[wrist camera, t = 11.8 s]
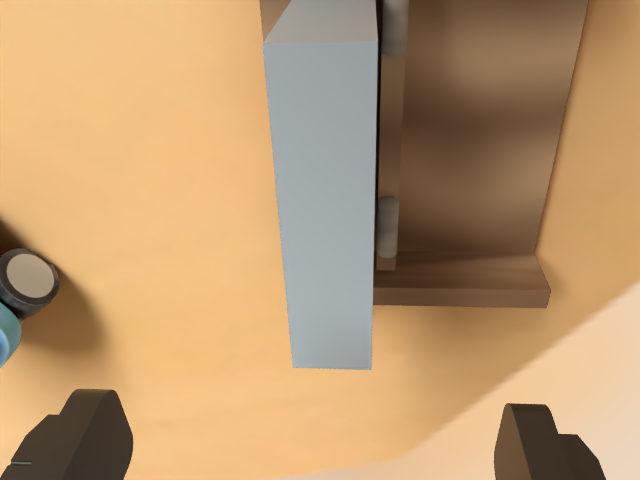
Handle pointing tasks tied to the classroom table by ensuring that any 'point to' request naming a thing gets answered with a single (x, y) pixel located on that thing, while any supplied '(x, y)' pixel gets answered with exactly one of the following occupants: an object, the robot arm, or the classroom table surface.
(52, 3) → the classroom table surface
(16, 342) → the toy excavator
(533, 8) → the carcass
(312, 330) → the blue-gray square slab
